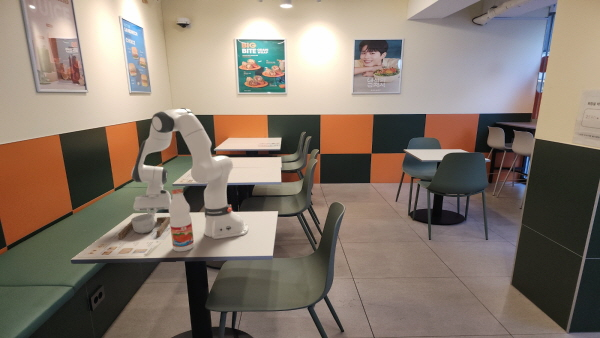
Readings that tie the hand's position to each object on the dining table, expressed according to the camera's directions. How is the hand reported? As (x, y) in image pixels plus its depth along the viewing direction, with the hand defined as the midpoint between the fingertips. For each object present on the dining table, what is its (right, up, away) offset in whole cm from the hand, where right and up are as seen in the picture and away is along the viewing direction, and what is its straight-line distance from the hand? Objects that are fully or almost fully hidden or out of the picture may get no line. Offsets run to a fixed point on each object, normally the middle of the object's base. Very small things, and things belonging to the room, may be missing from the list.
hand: (151, 216), depth 185 cm
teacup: (+1, -6, -8) cm, 10 cm away
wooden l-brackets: (+1, -6, -8) cm, 10 cm away
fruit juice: (+29, -11, -29) cm, 42 cm away
